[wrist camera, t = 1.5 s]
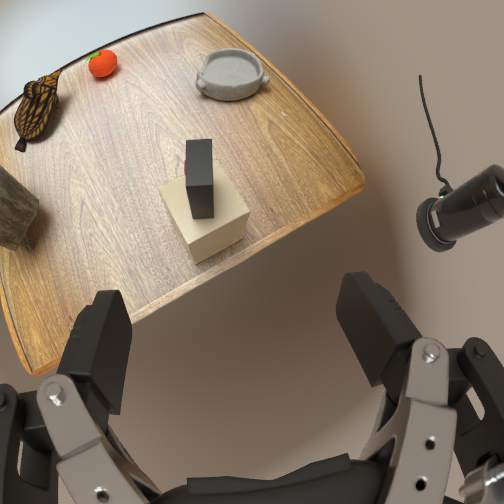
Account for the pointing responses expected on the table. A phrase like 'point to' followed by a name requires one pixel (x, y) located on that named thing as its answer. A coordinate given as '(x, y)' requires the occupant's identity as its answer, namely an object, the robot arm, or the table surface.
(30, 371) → the table surface
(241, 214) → the stand
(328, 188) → the table surface
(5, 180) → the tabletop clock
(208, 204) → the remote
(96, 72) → the clementine
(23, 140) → the decorative fish sculpture
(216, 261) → the table surface
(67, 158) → the table surface
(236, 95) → the dish
